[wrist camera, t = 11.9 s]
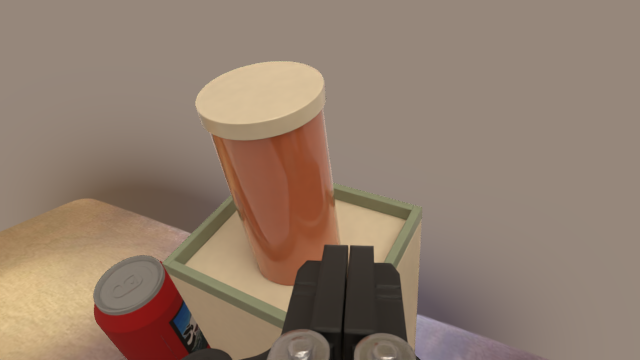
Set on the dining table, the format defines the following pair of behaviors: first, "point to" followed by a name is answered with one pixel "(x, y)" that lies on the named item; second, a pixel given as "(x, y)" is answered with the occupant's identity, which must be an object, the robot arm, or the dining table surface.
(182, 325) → the beverage can
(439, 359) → the dining table surface
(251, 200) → the terracotta jar
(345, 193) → the cabinet
